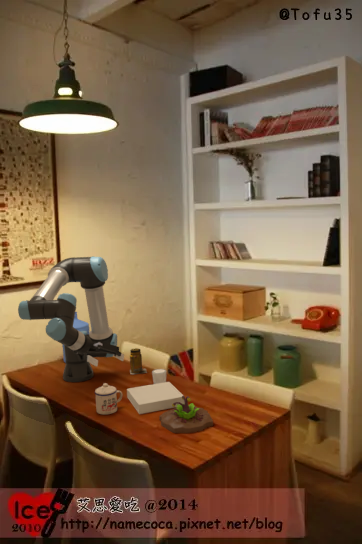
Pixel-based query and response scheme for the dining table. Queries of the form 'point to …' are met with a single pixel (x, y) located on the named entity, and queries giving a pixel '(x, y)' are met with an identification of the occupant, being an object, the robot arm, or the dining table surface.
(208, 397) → the dining table surface
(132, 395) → the plinth
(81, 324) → the water jug
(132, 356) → the condiment
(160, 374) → the white cup
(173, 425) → the plant
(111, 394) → the teacup with lid
